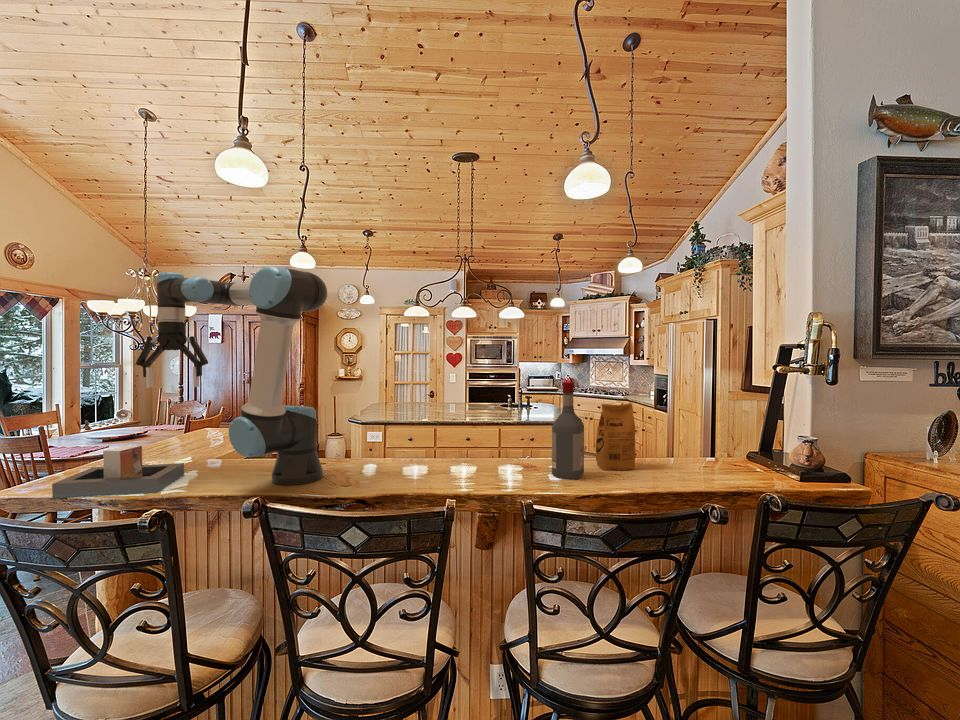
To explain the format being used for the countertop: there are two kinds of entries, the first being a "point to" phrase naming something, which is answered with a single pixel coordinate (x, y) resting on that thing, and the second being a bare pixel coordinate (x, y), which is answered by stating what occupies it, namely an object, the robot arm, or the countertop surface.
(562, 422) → the liquor
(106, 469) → the small box
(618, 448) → the coffee package
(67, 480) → the tray
